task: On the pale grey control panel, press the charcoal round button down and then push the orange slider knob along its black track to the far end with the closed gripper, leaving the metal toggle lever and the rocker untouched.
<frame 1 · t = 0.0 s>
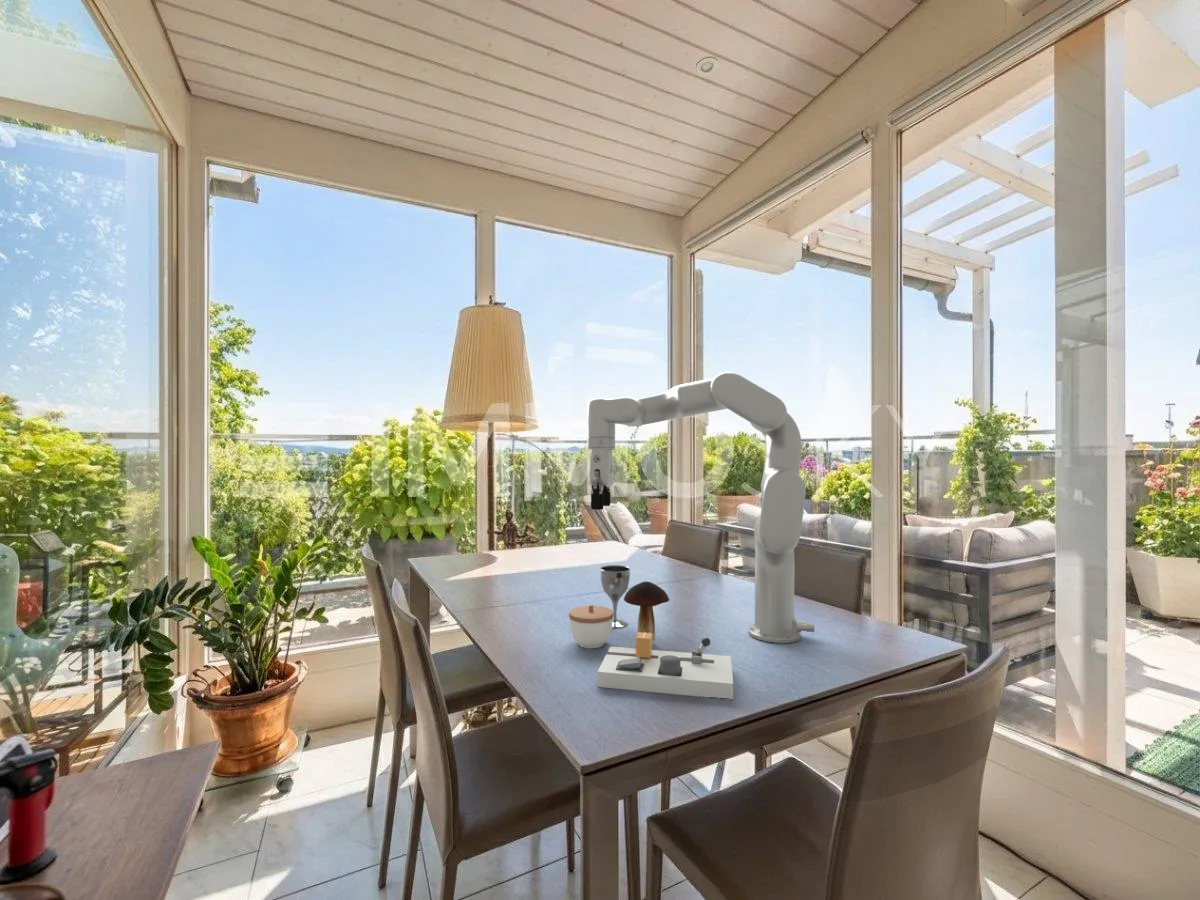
hand: (600, 507, 146), 31 cm above the table, tool pointing down, fingers open, 9 cm apart
lever: (702, 648, 112), point 6 cm above the table, hinge at -30.0°
decorative mushroom: (646, 644, 131), on the table
panel: (666, 678, 111), on the table
wine glass: (614, 624, 145), on the table
lidded jar: (590, 644, 130), on the table
slider: (644, 644, 115), point 5 cm above the table, slide at 0.0 cm
button: (670, 668, 107), point 3 cm above the table, slide at 0.0 cm
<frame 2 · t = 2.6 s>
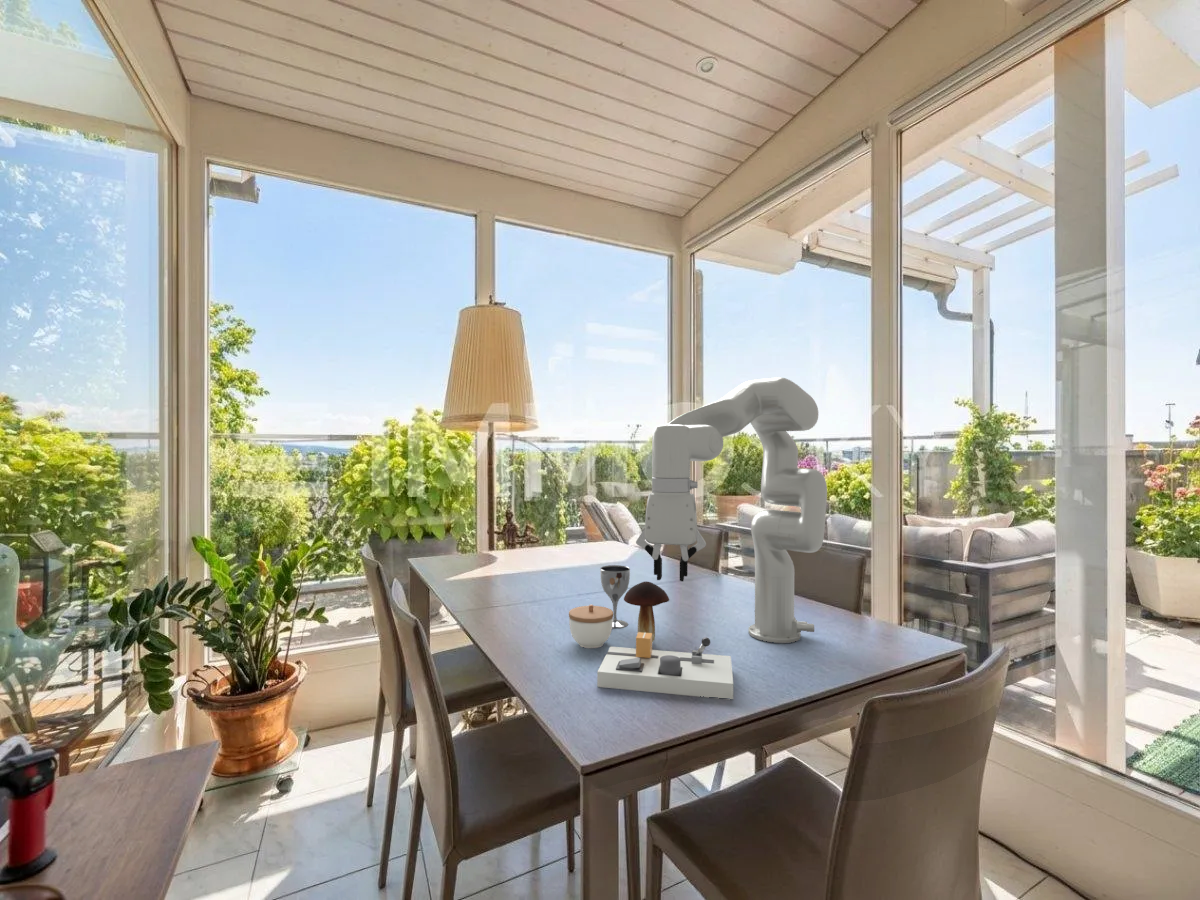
hand: (670, 578, 107), 21 cm above the table, tool pointing down, fingers open, 3 cm apart
nothing on the table moved.
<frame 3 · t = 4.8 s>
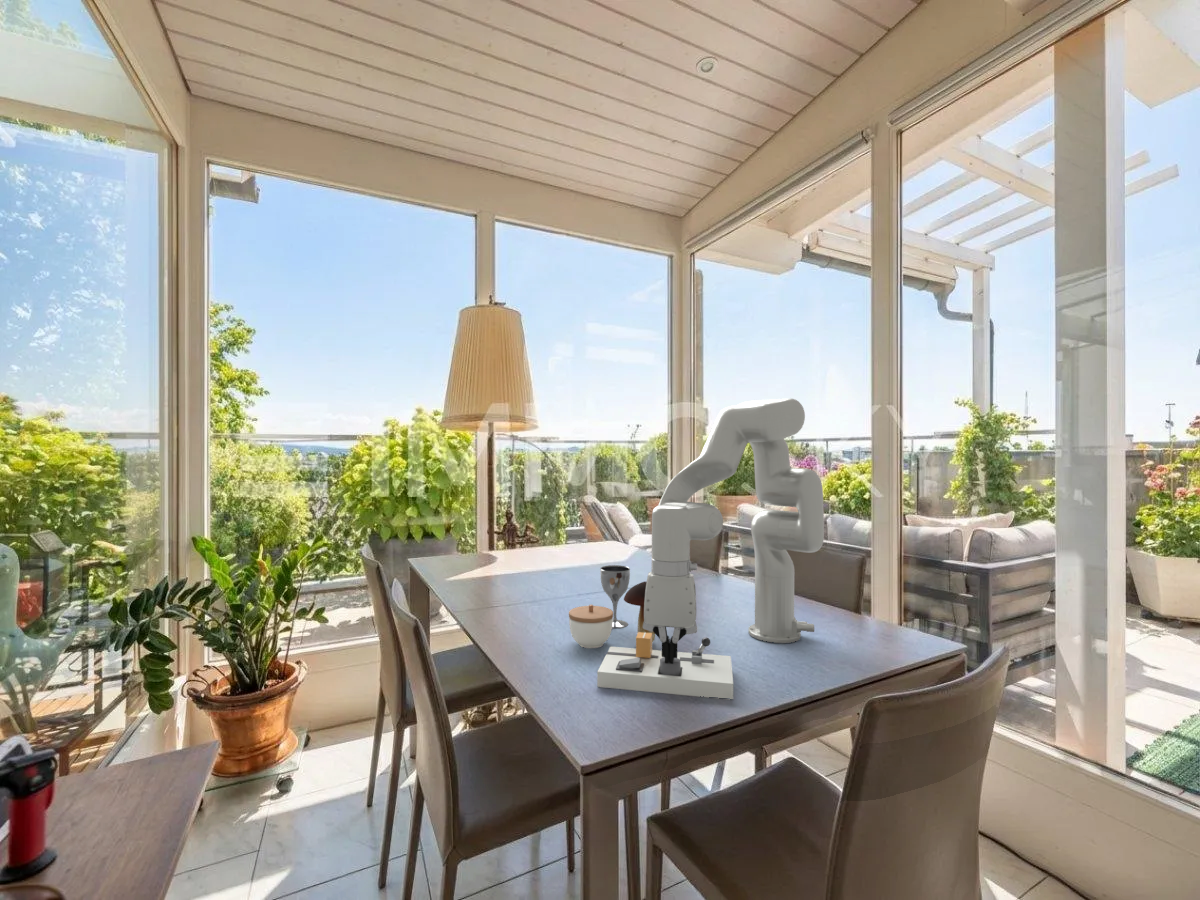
hand: (669, 660, 107), 5 cm above the table, tool pointing down, fingers closed
button: (670, 670, 107), point 3 cm above the table, slide at -0.3 cm, touching gripper
everything else where it was.
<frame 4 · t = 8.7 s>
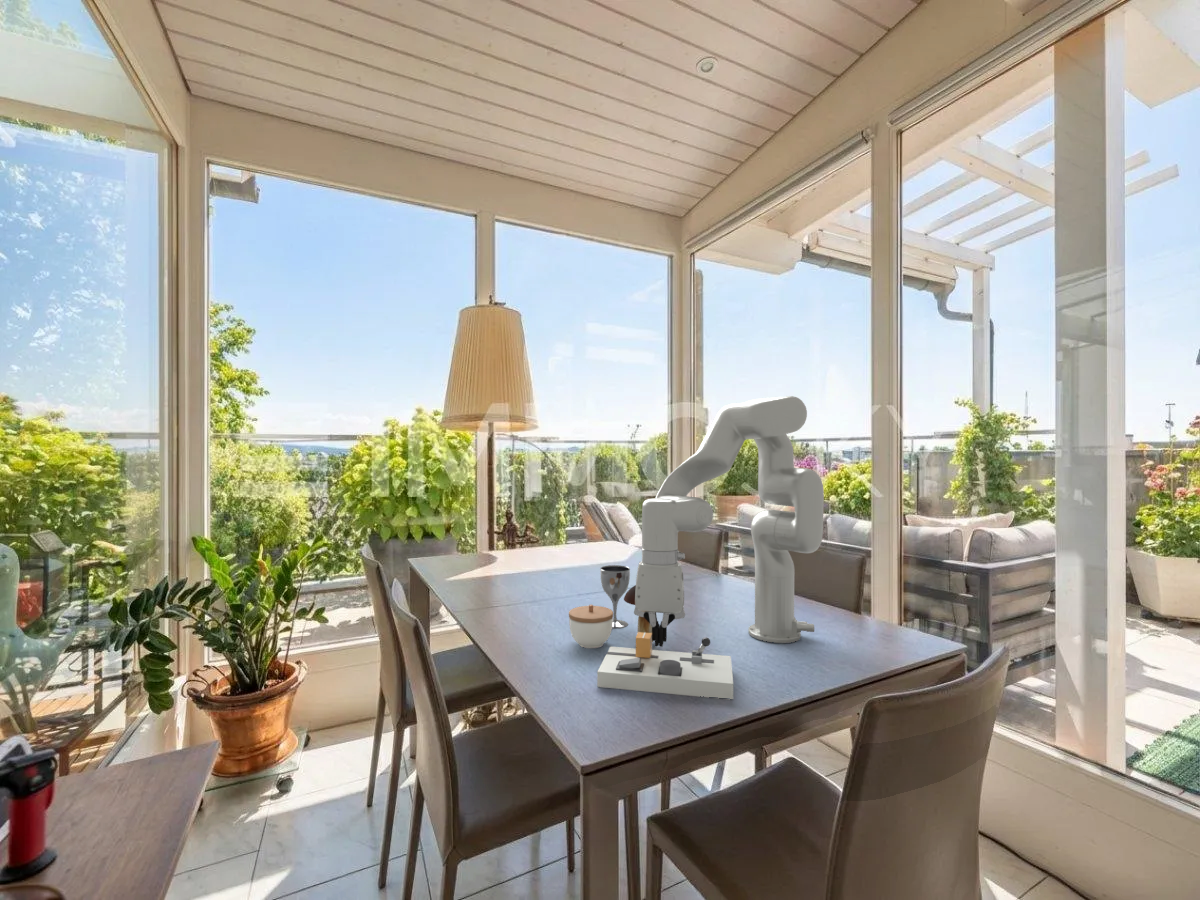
hand: (659, 644, 114), 6 cm above the table, tool pointing down, fingers closed
slider: (643, 644, 115), point 5 cm above the table, slide at 0.1 cm, touching gripper
button: (670, 673, 107), point 3 cm above the table, slide at -0.9 cm
everything else where it was.
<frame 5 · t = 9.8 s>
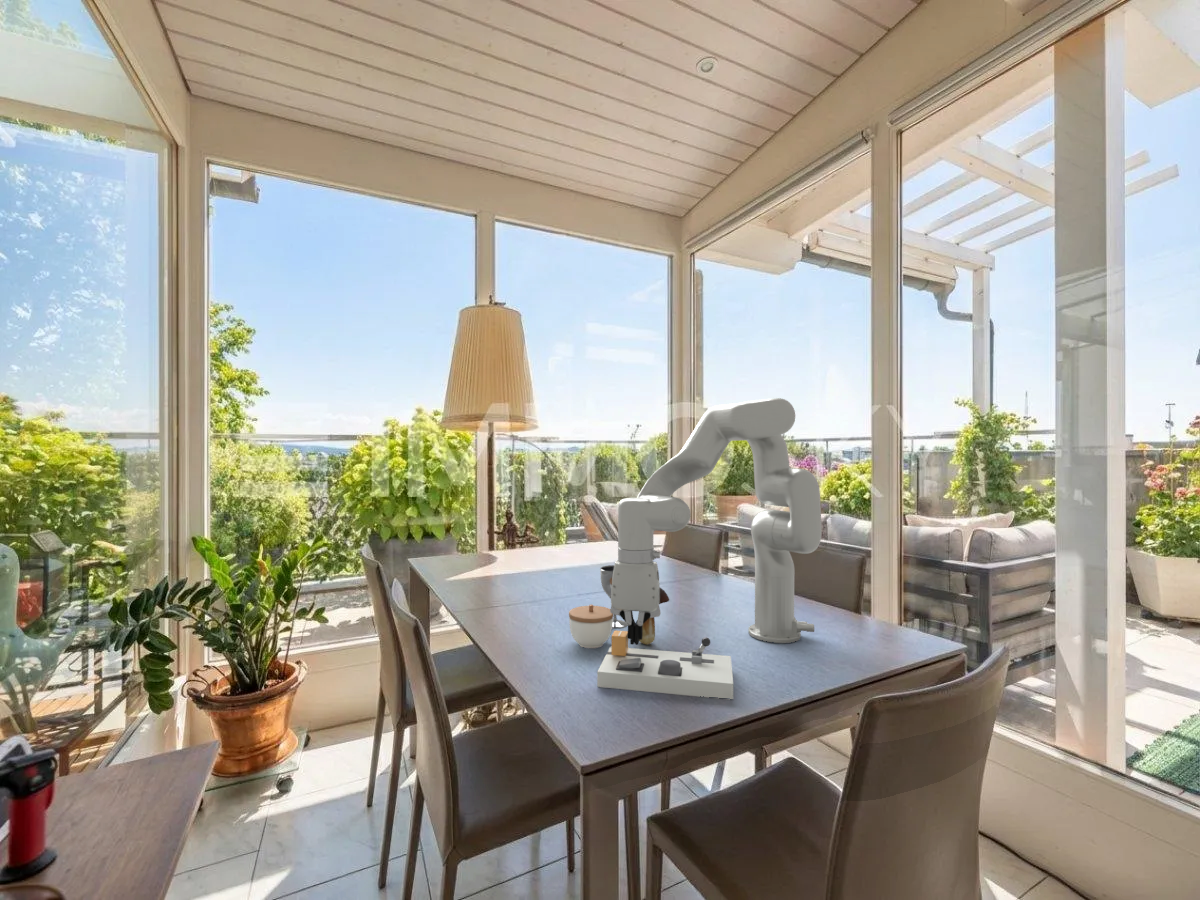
hand: (635, 642, 115), 6 cm above the table, tool pointing down, fingers closed
slider: (619, 642, 116), point 5 cm above the table, slide at 5.2 cm, touching gripper
everything else where it was.
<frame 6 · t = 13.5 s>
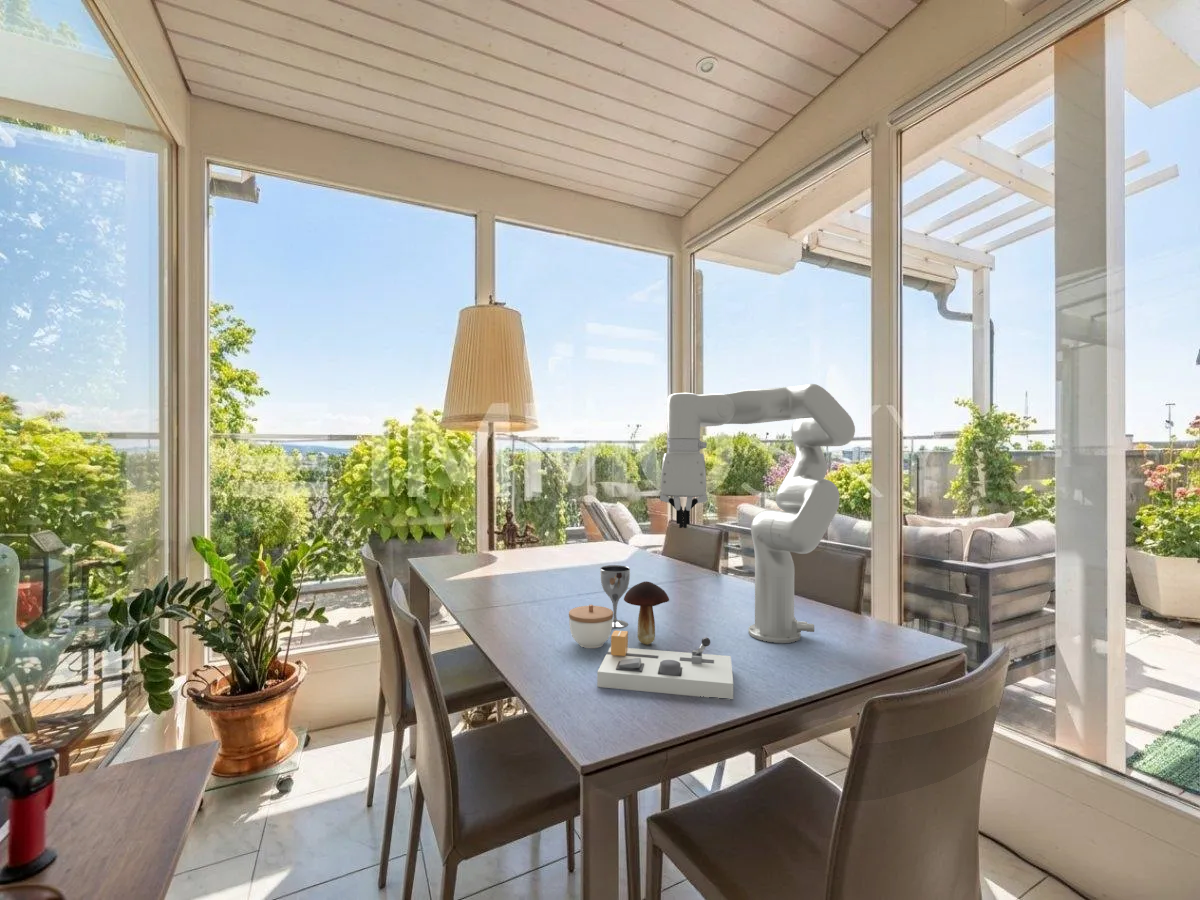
hand: (683, 527, 124), 29 cm above the table, tool pointing down, fingers closed
slider: (619, 642, 116), point 5 cm above the table, slide at 5.3 cm
everything else where it was.
at the end: button slide at -0.9 cm; slider slide at 5.3 cm; lever at -30° (first picture: -30°) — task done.
